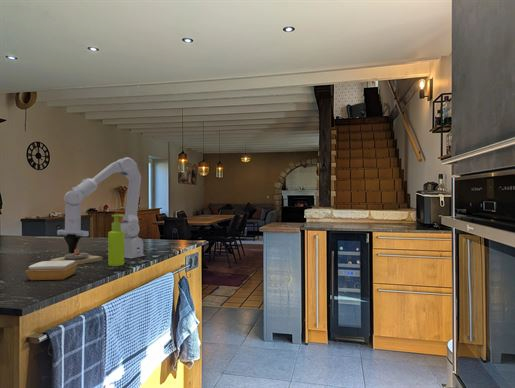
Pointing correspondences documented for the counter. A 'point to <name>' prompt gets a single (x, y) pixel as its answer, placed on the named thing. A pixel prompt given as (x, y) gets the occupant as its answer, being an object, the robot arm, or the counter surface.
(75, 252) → the handwheel
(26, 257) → the counter surface
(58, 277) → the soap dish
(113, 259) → the soap dispenser
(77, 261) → the board
